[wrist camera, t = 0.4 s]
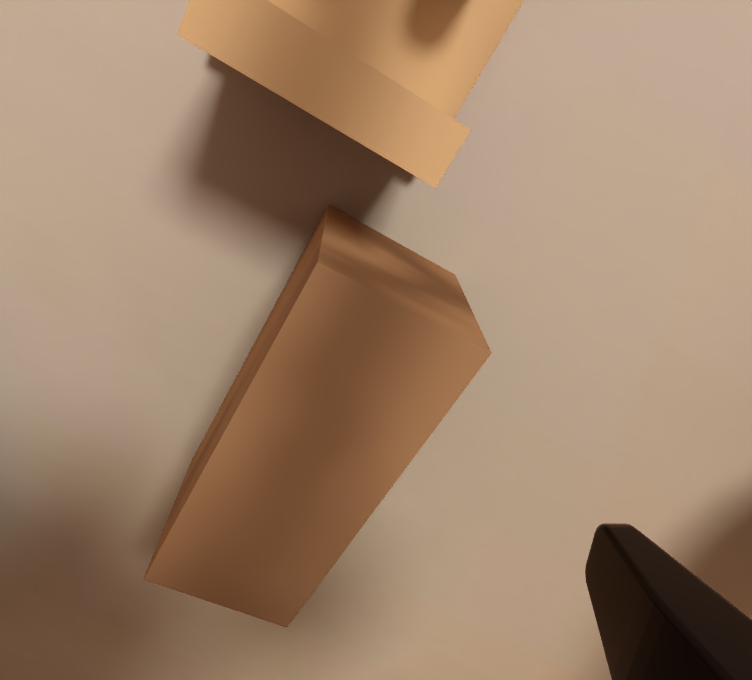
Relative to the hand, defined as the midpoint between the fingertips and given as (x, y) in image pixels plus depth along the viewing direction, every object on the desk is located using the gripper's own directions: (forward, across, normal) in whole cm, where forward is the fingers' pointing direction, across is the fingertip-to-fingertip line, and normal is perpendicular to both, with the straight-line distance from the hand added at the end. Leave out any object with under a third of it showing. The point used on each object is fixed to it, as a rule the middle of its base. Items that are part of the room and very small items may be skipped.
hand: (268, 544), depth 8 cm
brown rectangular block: (+13, 0, +5) cm, 14 cm away
